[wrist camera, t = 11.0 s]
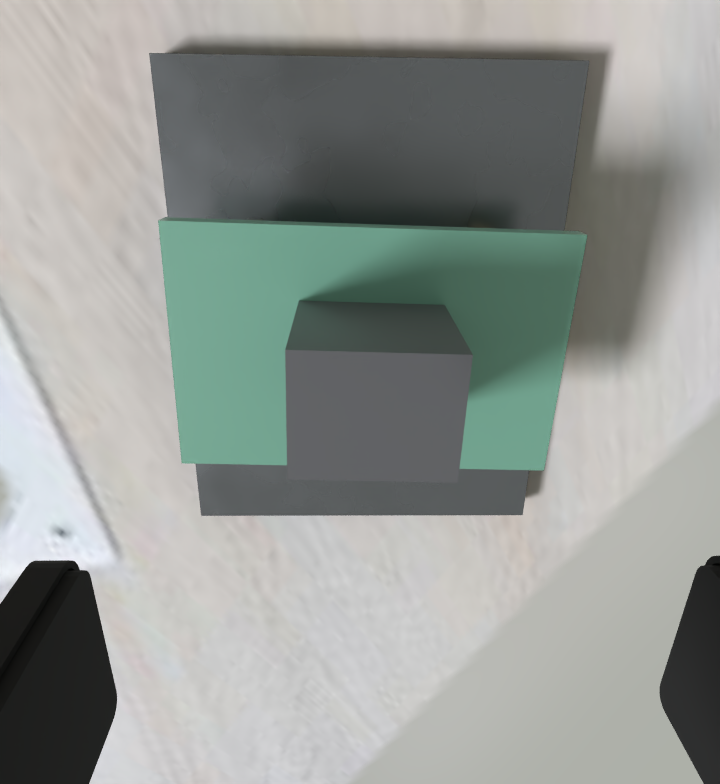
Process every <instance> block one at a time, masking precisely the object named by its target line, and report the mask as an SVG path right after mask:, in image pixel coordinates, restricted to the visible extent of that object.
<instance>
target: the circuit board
mask: <svg viewBox="0 0 720 784" xmlns="http://www.w3.org/2000/svg"><path fill="white" fill-rule="evenodd" d="M158 223H159V233H160V243H161V254H162V264H163V274H164V285H165V295H166V305H167V316H168V326H169V336H170V347H171V357H172V367H173V378H174V388H175V398H176V409H177V419H178V429H179V440H180V450H181V460H182V463H195V464H245V465H287V480H336V481H388V482H440V483H458V477H459V469H494V470H544V467H545V462H546V456H547V451H548V446H549V440H550V435H551V429H552V424H553V419H554V413H555V408H556V402H557V397H558V392H559V386H560V381H561V375H562V370H563V364H564V359H565V354H566V348H567V343H568V337H569V332H570V327H571V321H572V316H573V310H574V305H575V299H576V294H577V289H578V283H579V278H580V272H581V267H582V262H583V256H584V251H585V245H586V240H587V235H586V234H584V233H582V232H579V231H558V230H528V229H499V228H469V227H440V226H410V225H380V224H351V223H321V222H292V221H262V220H232V219H203V218H173V217H165V218H163V219H160V220H158Z"/></svg>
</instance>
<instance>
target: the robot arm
mask: <svg viewBox="0 0 720 784" xmlns="http://www.w3.org/2000/svg"><path fill="white" fill-rule="evenodd" d="M660 699H661V703H662V706H663V709H664V711H665V713H666V715H667V717H668V719H669V720H670V722H671V724H672V726H673V728H674V729H675V731H676V733H677V735H678V737H679V739H680V741H681V742H682V744H683V746H684V748H685V750H686V752H687V754H688V755H689V757H690V759H691V761H692V762H693V765H694V766H695V768H696V770H697V772H698V774H699V776H700V778H701V779H702V781H703V783H704V784H720V556H713V557H711V558H709V559H708V560H707V562H706V564H705V566H700V567H699V568H698V570H697V572H696V574H695V577H694V580H693V583H692V587H691V590H690V593H689V596H688V599H687V602H686V605H685V608H684V612H683V615H682V618H681V621H680V624H679V627H678V631H677V634H676V637H675V640H674V643H673V647H672V649H671V652H670V655H669V659H668V662H667V665H666V668H665V671H664V674H663V678H662V681H661V684H660ZM116 705H117V693H116V688H115V683H114V679H113V674H112V670H111V665H110V661H109V657H108V652H107V648H106V643H105V639H104V635H103V630H102V626H101V621H100V617H99V612H98V608H97V604H96V599H95V595H94V590H93V586H92V581H91V577H90V574H89V573H88V571H85V570H79V567H78V565H77V563H76V562H75V561H33V562H31V563H30V564H29V565H28V566H27V567H26V568H25V570H24V571H23V573H22V574H21V575H20V577H19V578H18V580H17V581H16V582H15V584H14V585H13V587H12V588H11V590H10V591H9V592H8V594H7V595H6V597H5V598H4V600H3V601H2V602H1V604H0V784H89V782H90V780H91V777H92V774H93V772H94V769H95V766H96V764H97V761H98V759H99V756H100V753H101V751H102V748H103V745H104V743H105V740H106V738H107V735H108V732H109V730H110V727H111V724H112V722H113V719H114V716H115V711H116Z"/></svg>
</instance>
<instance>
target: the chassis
mask: <svg viewBox="0 0 720 784" xmlns="http://www.w3.org/2000/svg"><path fill="white" fill-rule="evenodd" d="M149 55H150V64H151V73H152V81H153V90H154V99H155V108H156V117H157V126H158V135H159V144H160V153H161V161H162V170H163V179H164V188H165V197H166V206H167V215H168V217H173V218H203V219H232V220H262V221H292V222H321V223H351V224H380V225H410V226H440V227H469V228H499V229H528V230H558V231H564V229H565V222H566V215H567V209H568V202H569V195H570V188H571V181H572V175H573V168H574V161H575V154H576V147H577V141H578V134H579V127H580V120H581V113H582V107H583V100H584V93H585V86H586V79H587V73H588V66H589V61H577V60H519V59H462V58H404V57H346V56H288V55H230V54H173V53H149ZM196 472H197V481H198V490H199V499H200V508H201V516H245V515H523V508H524V501H525V494H526V488H527V481H528V474H529V470H494V469H459V477H458V483H440V482H388V481H336V480H287V465H245V464H196Z"/></svg>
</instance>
